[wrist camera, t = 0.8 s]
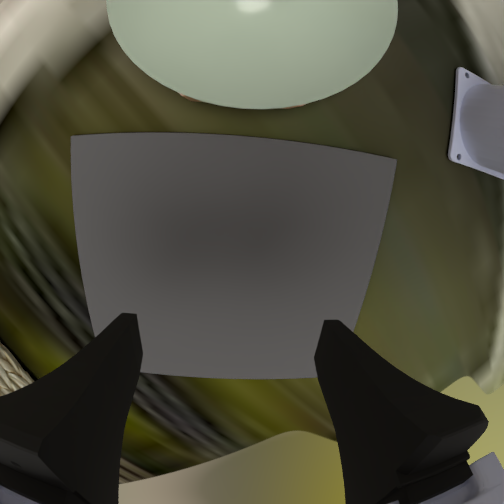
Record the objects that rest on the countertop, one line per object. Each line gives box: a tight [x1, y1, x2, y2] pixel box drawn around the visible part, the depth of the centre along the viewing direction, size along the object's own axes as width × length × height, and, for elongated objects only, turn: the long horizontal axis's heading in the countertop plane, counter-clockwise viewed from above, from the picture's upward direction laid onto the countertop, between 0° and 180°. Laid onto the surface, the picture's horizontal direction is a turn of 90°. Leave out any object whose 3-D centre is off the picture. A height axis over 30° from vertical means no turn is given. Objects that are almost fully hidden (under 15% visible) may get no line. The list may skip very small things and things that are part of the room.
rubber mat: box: [71, 132, 397, 379], centre depth 22 cm, size 22×20×1 cm
